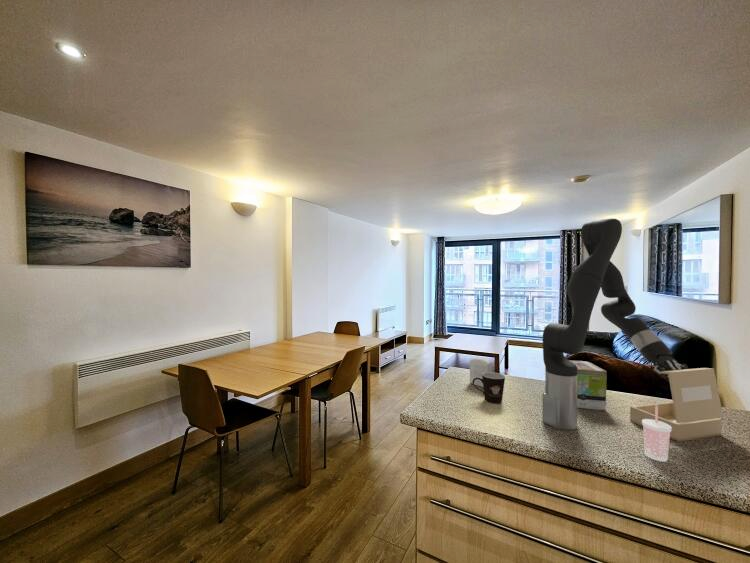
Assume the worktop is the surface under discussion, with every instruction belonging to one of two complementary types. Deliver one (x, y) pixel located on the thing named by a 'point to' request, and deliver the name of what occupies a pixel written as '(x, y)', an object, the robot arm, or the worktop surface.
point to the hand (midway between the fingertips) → (692, 393)
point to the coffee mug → (492, 386)
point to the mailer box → (678, 429)
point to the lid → (694, 394)
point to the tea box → (590, 386)
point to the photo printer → (479, 369)
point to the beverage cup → (656, 438)
